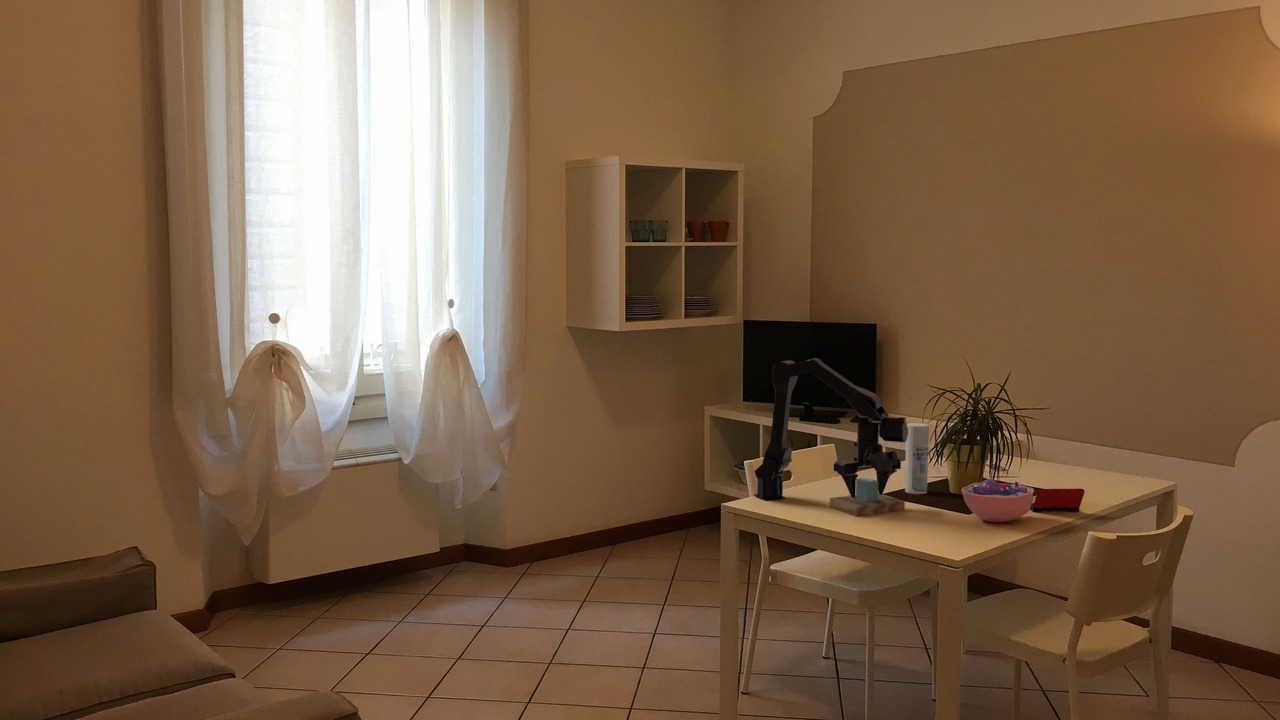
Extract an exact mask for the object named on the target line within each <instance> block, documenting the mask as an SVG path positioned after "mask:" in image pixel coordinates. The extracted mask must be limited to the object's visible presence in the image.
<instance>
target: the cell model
mask: <svg viewBox="0 0 1280 720" xmlns="http://www.w3.org/2000/svg"><path fill="white" fill-rule="evenodd" d="M1034 492H1035V490H1034V488H1033V487H1030V486H1026V485H1025V484H1024V483H1019V482H1018V481H1014V483H1006V482H998V481H997V480H995V479H994V478H987V479H985V480H983V481H982V482H973V483H971V484H969V485H967V486H964V487H962V488H961V493H962V496H963V499H964V502H965V504H966V505H967V507H968V508H969V510H970V511H971V512H972V513H973V514H974V515H975V516H976V517H978V518H980V519H981V520H983V521H985V522H991V523H1007V522H1010V521H1013V520H1017V519H1019V518H1020V517H1022V516H1025V515H1027V514H1028V513H1029V511H1031V510H1030V507H1031V504H1032V503H1033V502H1034V501H1033V499H1034Z"/></svg>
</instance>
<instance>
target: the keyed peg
mask: <svg viewBox="0 0 1280 720" xmlns="http://www.w3.org/2000/svg"><path fill="white" fill-rule="evenodd" d="M860 477H861V476H860ZM878 493H879V492H878V481H877V479H876V480H875V479H872V478H869V477H865V476H862V477H861V478H856V492H855V495H856V500H859V501H862V502H865V503H871V502H878Z"/></svg>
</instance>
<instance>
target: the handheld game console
mask: <svg viewBox="0 0 1280 720" xmlns="http://www.w3.org/2000/svg"><path fill="white" fill-rule="evenodd" d="M1085 493H1086V492H1085V489H1084V488H1040V489H1038V490H1037V491H1036V495H1035V499H1034V501H1033V502H1032V504H1031V507H1030V510H1029V511H1031V512H1033V513H1080V510H1081V509H1080V508H1081V506H1082V505H1081V504H1082V501H1083V498H1084V495H1085Z"/></svg>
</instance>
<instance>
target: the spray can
mask: <svg viewBox="0 0 1280 720" xmlns="http://www.w3.org/2000/svg"><path fill="white" fill-rule="evenodd" d="M907 428H908V437H907V440H906V442H905V466H904V467H905V469H904V471H905V472H904V473H905V477H904V479H905V481H904V482H905V483H904V487H905V488H904V491H905V493H907V494H912V495H924V494H927V493H928V475H929V474H928V472H929V471H928V469H929V468H928V467H929V464H928V463H929V442H930V441H929V439H930V438H929V436H930V435H929V434H930V431H929V430H930V426H929V424H927V423H923V422H922V423H920V422H910V423H909V422H908V423H907Z"/></svg>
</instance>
